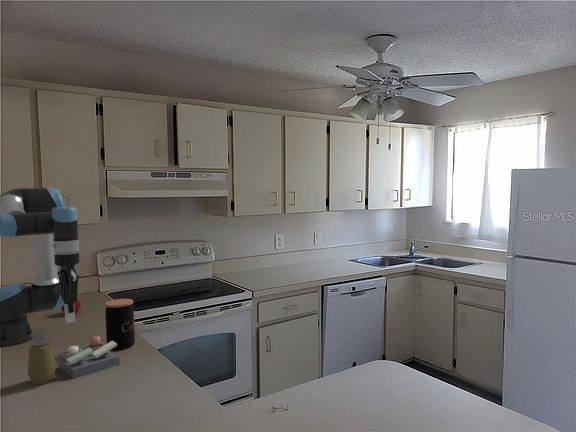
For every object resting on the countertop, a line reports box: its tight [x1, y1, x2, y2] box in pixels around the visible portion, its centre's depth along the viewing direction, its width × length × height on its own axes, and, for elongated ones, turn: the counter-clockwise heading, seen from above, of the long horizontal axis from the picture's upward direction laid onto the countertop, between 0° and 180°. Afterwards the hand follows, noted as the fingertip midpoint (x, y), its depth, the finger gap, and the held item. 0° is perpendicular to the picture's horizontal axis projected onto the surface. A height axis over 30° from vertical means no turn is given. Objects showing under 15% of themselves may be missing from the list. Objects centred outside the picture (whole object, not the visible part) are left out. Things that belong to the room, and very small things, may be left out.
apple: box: [60, 298, 81, 315], centre depth 225 cm, size 9×9×10 cm
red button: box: [89, 335, 102, 348], centre depth 162 cm, size 4×4×3 cm
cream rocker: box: [92, 341, 117, 358], centre depth 158 cm, size 4×8×2 cm, turn 136°
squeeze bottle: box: [27, 326, 56, 385], centre depth 144 cm, size 8×8×18 cm
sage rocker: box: [66, 348, 94, 364], centre depth 151 cm, size 4×8×2 cm, turn 136°
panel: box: [57, 341, 121, 379], centre depth 157 cm, size 14×16×6 cm
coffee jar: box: [104, 298, 136, 351], centre depth 176 cm, size 11×11×18 cm
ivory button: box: [66, 345, 80, 354], centre depth 156 cm, size 4×4×3 cm
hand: (70, 321), depth 149 cm, fingers closed
